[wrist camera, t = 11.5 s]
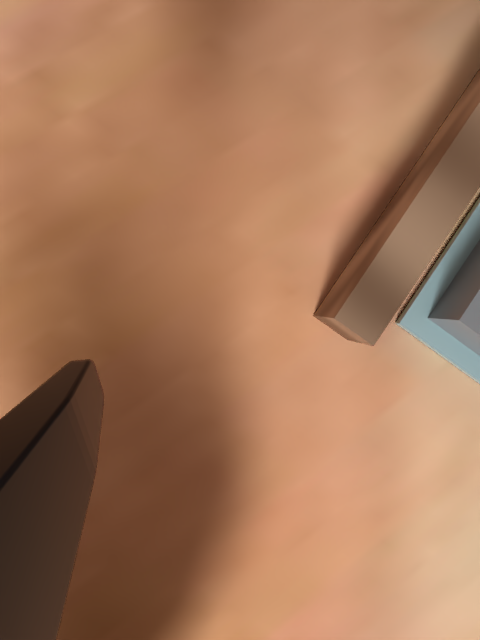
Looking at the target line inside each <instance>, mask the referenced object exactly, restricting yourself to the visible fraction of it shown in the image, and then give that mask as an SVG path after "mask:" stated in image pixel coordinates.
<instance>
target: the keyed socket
mask: <svg viewBox="0 0 480 640" xmlns="http://www.w3.org/2000/svg"><path fill="white" fill-rule="evenodd" d="M396 324H397V325H399V326H400V327H401V328H403V329H404V330H405V331H407V332H408V333H410V334H411V335H412V336H414V337H415V338H417V339H418V340H419V341H421V342H422V343H423V344H425V345H426V346H428V347H429V348H430V349H432V350H433V351H435V352H436V353H437V354H439V355H440V356H441V357H443V358H444V359H446V360H447V361H448V362H450V363H451V364H453V365H454V366H455V367H457V368H458V369H459V370H461V371H462V372H464V373H465V374H466V375H468V376H469V377H470V378H472V379H473V380H475V381H476V382H477V383H479V384H480V197H479V198H478V200H477V201H476V203H475V204H474V206H473V207H472V209H471V210H470V212H469V213H468V215H467V216H466V218H465V219H464V221H463V222H462V224H461V225H460V227H459V228H458V230H457V231H456V233H455V234H454V236H453V237H452V239H451V240H450V242H449V243H448V245H447V246H446V248H445V249H444V251H443V252H442V254H441V255H440V257H439V258H438V260H437V261H436V263H435V264H434V266H433V267H432V269H431V270H430V272H429V273H428V275H427V276H426V278H425V279H424V281H423V282H422V284H421V285H420V287H419V288H418V290H417V291H416V293H415V294H414V296H413V297H412V299H411V300H410V302H409V303H408V305H407V306H406V308H405V309H404V311H403V312H402V314H401V315H400V317H399V318H398V320H397V321H396Z"/></svg>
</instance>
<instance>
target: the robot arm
mask: <svg viewBox="0 0 480 640" xmlns="http://www.w3.org/2000/svg"><path fill="white" fill-rule="evenodd" d="M103 406H104V394H103V389H102V386H101V383H100V379H99V376H98V373H97V370H96V366H95V364H94V362H93V361H92V360H90V359H87V360H75V361H71V362H69V363H68V364H66V365H65V366H64V367H63V368H61V369H60V370H59V371H58V372H57V373H55V374H54V375H53V376H52V377H51V378H49V379H48V380H47V381H46V382H45V383H43V384H42V385H41V386H40V387H39V388H37V389H36V390H35V391H34V392H32V393H31V394H30V395H29V396H28V397H26V398H25V399H24V400H23V401H22V402H20V403H19V404H18V405H17V406H16V407H14V408H13V409H12V410H11V411H10V412H8V413H7V414H6V415H5V416H4V417H2V418H1V419H0V640H56V639H57V635H58V630H59V626H60V622H61V618H62V613H63V609H64V605H65V601H66V597H67V592H68V588H69V584H70V580H71V576H72V571H73V567H74V563H75V559H76V555H77V550H78V546H79V542H80V538H81V533H82V529H83V525H84V521H85V517H86V512H87V508H88V504H89V500H90V496H91V491H92V487H93V483H94V478H95V473H96V467H97V459H98V450H99V441H100V432H101V424H102V415H103Z"/></svg>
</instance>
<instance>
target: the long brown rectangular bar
mask: <svg viewBox="0 0 480 640" xmlns="http://www.w3.org/2000/svg"><path fill="white" fill-rule="evenodd" d="M479 187H480V69H479V71H478V72H477V74H476V75H475V77H474V78H473V80H472V81H471V82H470V84H469V85H468V87H467V88H466V90H465V91H464V93H463V94H462V96H461V97H460V99H459V100H458V102H457V103H456V105H455V106H454V108H453V109H452V111H451V112H450V114H449V115H448V117H447V118H446V120H445V121H444V123H443V124H442V125H441V127H440V128H439V130H438V131H437V133H436V134H435V136H434V137H433V139H432V140H431V142H430V143H429V145H428V146H427V148H426V149H425V151H424V152H423V154H422V155H421V157H420V158H419V160H418V161H417V163H416V164H415V166H414V167H413V168H412V170H411V171H410V173H409V174H408V176H407V177H406V179H405V180H404V182H403V183H402V185H401V186H400V188H399V189H398V191H397V192H396V194H395V195H394V197H393V198H392V200H391V201H390V203H389V204H388V206H387V207H386V209H385V210H384V211H383V213H382V214H381V216H380V217H379V219H378V220H377V222H376V223H375V225H374V226H373V228H372V229H371V231H370V232H369V234H368V235H367V237H366V238H365V240H364V241H363V243H362V244H361V246H360V247H359V249H358V250H357V252H356V253H355V255H354V256H353V257H352V259H351V260H350V262H349V263H348V265H347V266H346V268H345V269H344V271H343V272H342V274H341V275H340V277H339V278H338V280H337V281H336V283H335V284H334V286H333V287H332V289H331V290H330V292H329V293H328V295H327V296H326V298H325V299H324V300H323V302H322V303H321V305H320V306H319V308H318V309H317V311H316V312H315V314H314V315H313V316H314V317H316V318H317V319H319V320H320V321H321V322H323V323H324V324H326V325H327V326H329V327H330V328H331V329H333V330H334V331H336V332H337V333H338V334H340V335H341V336H343V337H344V338H346V339H347V340H351V341H355V342H359V343H363V344H367V345H371V346H374V345H375V343H376V342H377V340H378V339H379V337H380V336H381V334H382V333H383V331H384V330H385V328H386V327H387V325H388V324H389V322H390V321H391V319H392V318H393V316H394V315H395V313H396V312H397V310H398V309H399V307H400V306H401V304H402V303H403V301H404V300H405V298H406V297H407V295H408V294H409V292H410V291H411V289H412V288H413V286H414V285H415V283H416V282H417V280H418V279H419V277H420V276H421V274H422V273H423V271H424V270H425V268H426V267H427V265H428V264H429V262H430V261H431V259H432V258H433V256H434V255H435V253H436V252H437V250H438V249H439V247H440V246H441V244H442V243H443V241H444V240H445V238H446V237H447V235H448V234H449V232H450V231H451V229H452V228H453V226H454V225H455V223H456V222H457V220H458V219H459V217H460V216H461V214H462V213H463V211H464V210H465V208H466V207H467V205H468V204H469V202H470V201H471V199H472V198H473V196H474V195H475V193H476V192H477V190H478V189H479Z"/></svg>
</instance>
